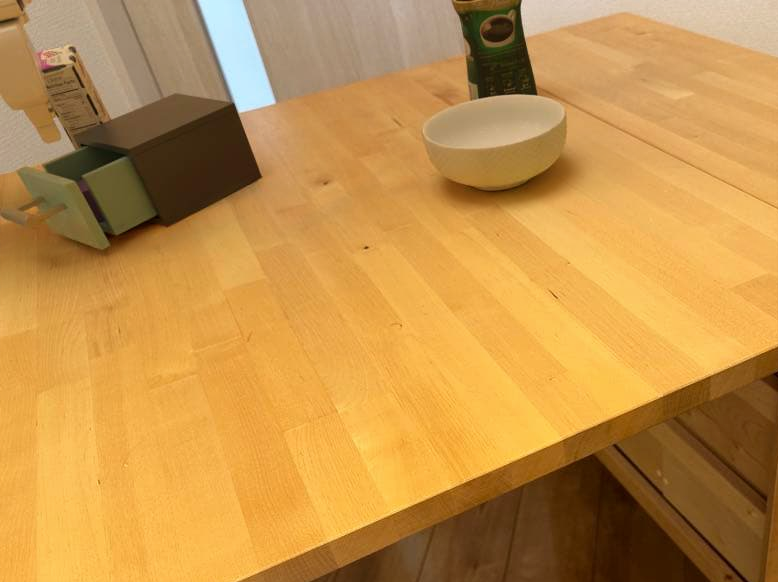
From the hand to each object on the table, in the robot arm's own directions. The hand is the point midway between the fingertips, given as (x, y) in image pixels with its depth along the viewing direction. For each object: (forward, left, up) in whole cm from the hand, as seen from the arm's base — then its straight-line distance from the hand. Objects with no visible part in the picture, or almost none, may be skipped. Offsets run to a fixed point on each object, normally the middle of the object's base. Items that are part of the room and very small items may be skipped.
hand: (51, 128), depth 85 cm
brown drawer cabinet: (0, +12, -13) cm, 17 cm away
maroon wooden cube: (0, +1, -11) cm, 11 cm away
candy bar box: (-16, +11, -13) cm, 23 cm away
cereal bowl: (+38, +31, -13) cm, 50 cm away
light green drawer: (0, +1, -12) cm, 12 cm away
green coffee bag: (+23, +51, -13) cm, 57 cm away
